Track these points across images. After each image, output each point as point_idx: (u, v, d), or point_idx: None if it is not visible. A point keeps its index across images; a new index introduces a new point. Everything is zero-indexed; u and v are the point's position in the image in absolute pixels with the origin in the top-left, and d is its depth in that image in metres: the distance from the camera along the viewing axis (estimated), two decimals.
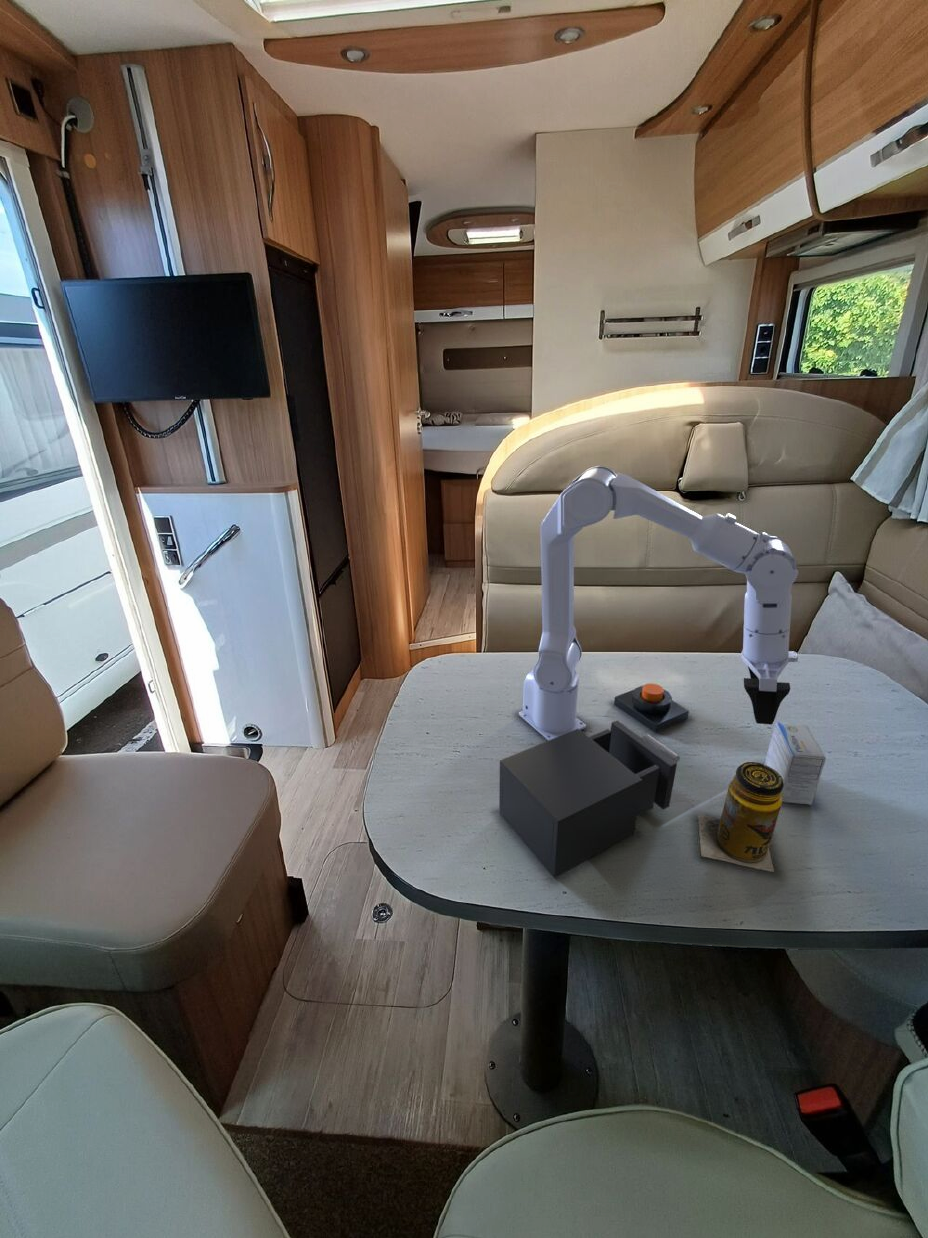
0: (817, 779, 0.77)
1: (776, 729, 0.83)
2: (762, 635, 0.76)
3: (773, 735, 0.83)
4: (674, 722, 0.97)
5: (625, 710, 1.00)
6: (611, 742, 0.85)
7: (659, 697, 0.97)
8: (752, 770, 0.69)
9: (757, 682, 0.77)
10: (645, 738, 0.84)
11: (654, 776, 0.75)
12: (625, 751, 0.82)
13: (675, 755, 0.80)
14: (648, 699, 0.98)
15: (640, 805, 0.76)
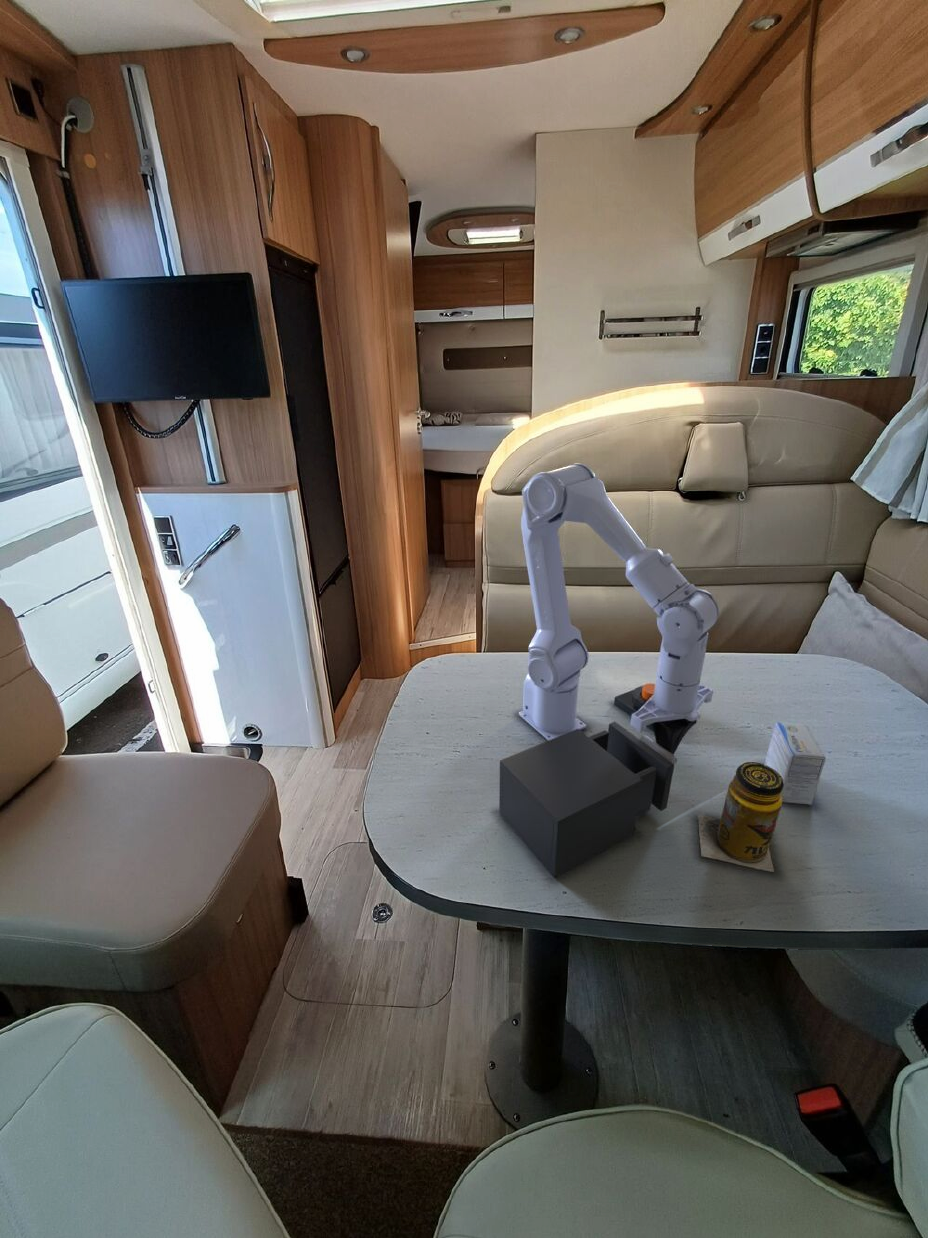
0: (817, 779, 0.77)
1: (776, 729, 0.83)
2: (660, 680, 0.77)
3: (773, 735, 0.83)
4: None
5: (625, 710, 1.00)
6: (609, 743, 0.84)
7: None
8: (752, 770, 0.69)
9: None
10: (643, 739, 0.84)
11: (652, 777, 0.74)
12: (622, 752, 0.82)
13: (673, 756, 0.80)
14: (648, 699, 0.98)
15: None
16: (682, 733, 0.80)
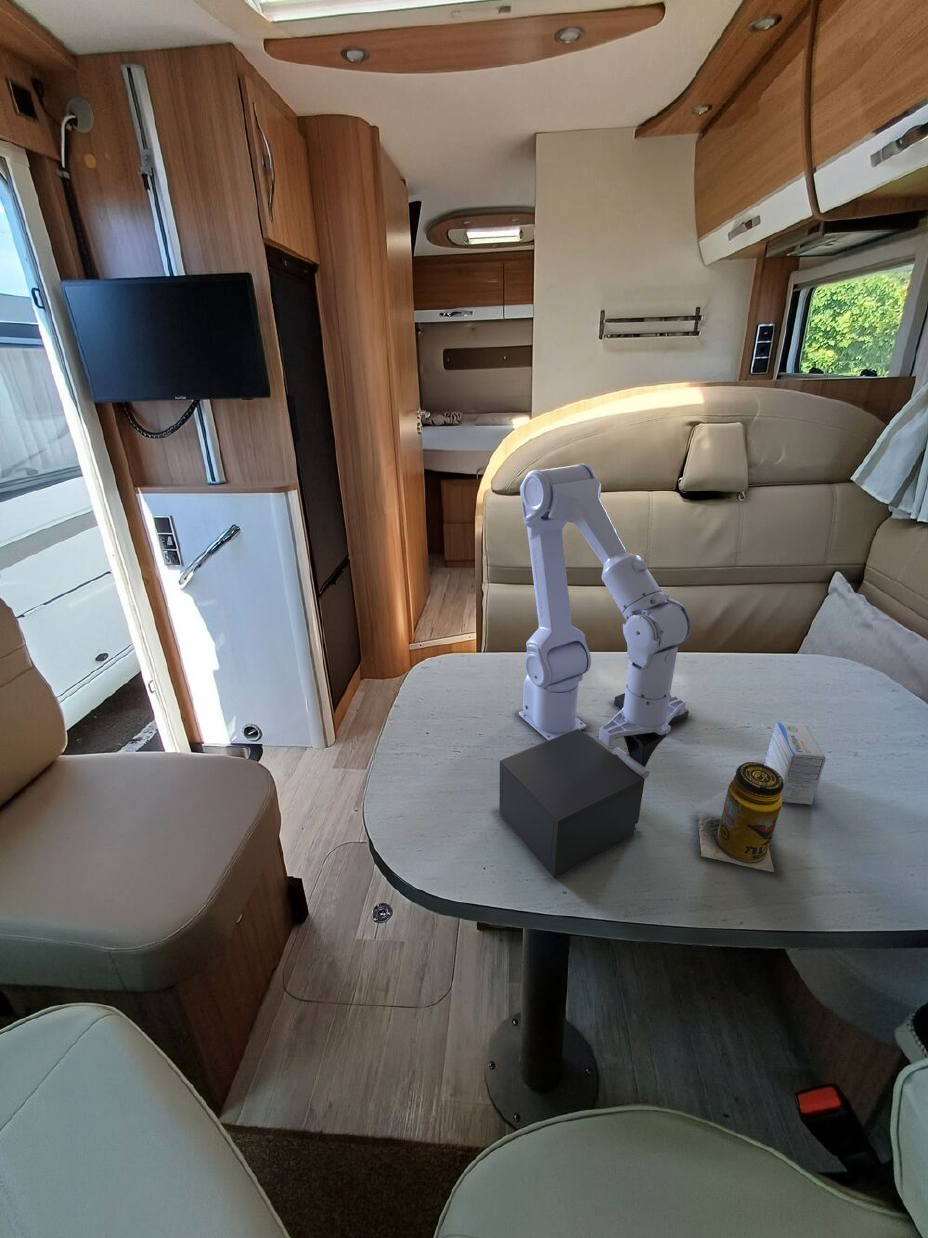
0: (817, 779, 0.77)
1: (776, 729, 0.83)
2: (629, 692, 0.74)
3: (773, 735, 0.83)
4: (674, 722, 0.97)
5: None
6: None
7: None
8: (752, 770, 0.69)
9: None
10: (615, 751, 0.81)
11: None
12: None
13: (645, 770, 0.77)
14: None
15: None
16: (652, 747, 0.77)
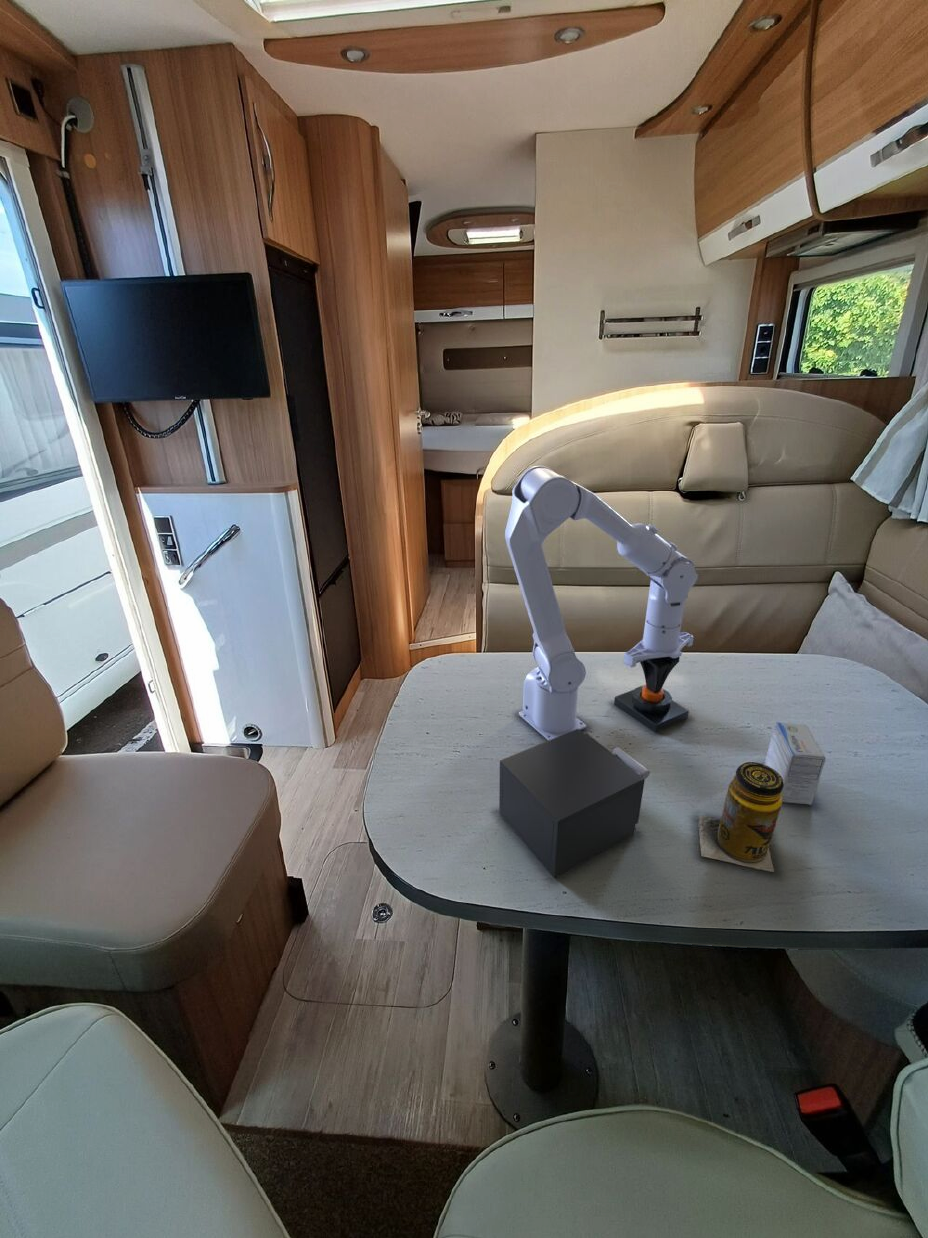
0: (817, 779, 0.77)
1: (776, 729, 0.83)
2: (648, 624, 0.92)
3: (773, 735, 0.83)
4: (674, 722, 0.97)
5: (625, 710, 1.00)
6: None
7: (659, 698, 0.97)
8: (752, 770, 0.69)
9: None
10: (615, 751, 0.81)
11: None
12: None
13: (645, 770, 0.77)
14: (648, 700, 0.98)
15: None
16: (667, 671, 0.95)
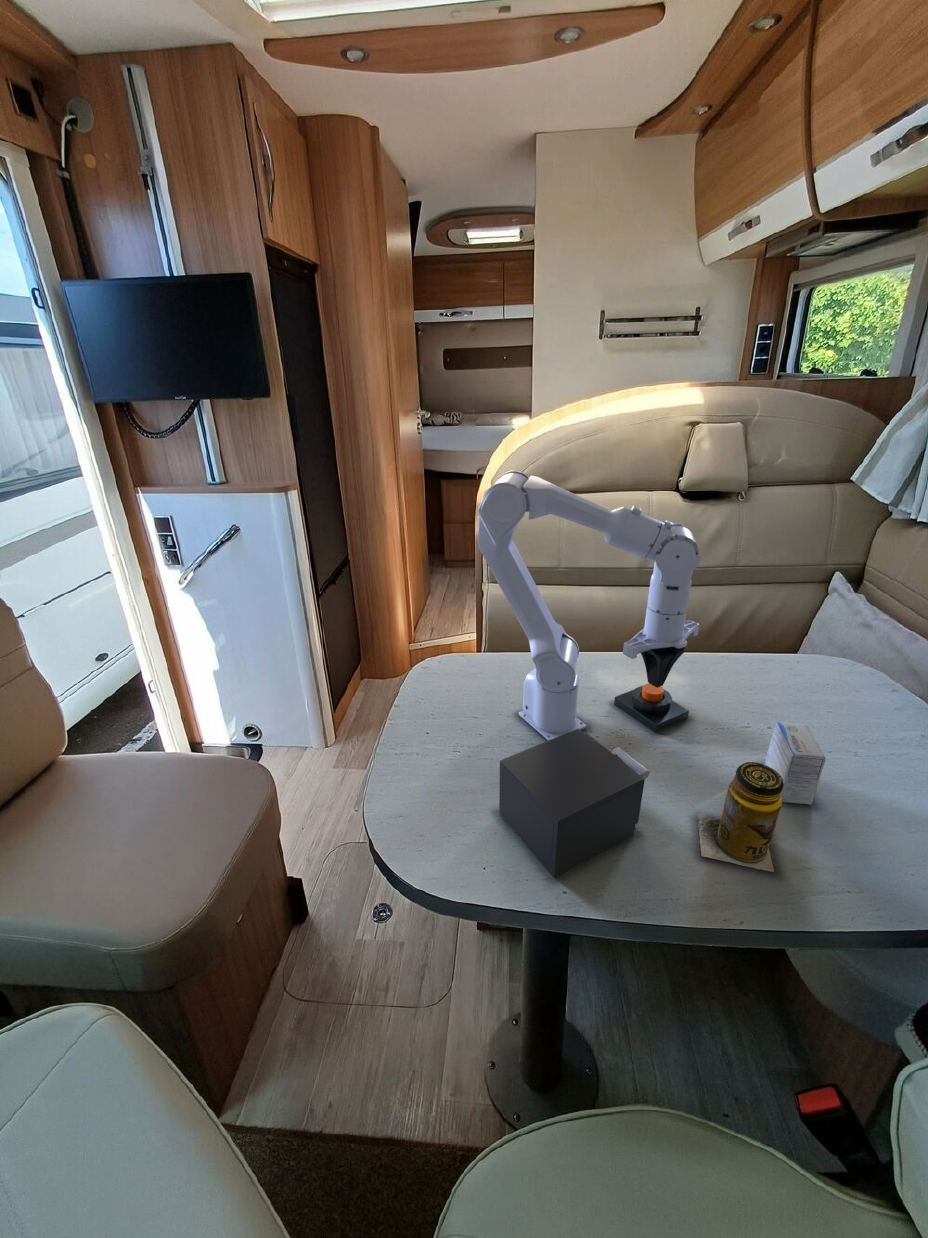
0: (817, 779, 0.77)
1: (776, 729, 0.83)
2: (650, 611, 0.83)
3: (773, 735, 0.83)
4: (674, 722, 0.97)
5: (625, 710, 1.00)
6: None
7: (659, 697, 0.97)
8: (752, 770, 0.69)
9: None
10: (615, 751, 0.81)
11: None
12: None
13: (645, 770, 0.77)
14: (648, 699, 0.98)
15: None
16: (671, 662, 0.86)
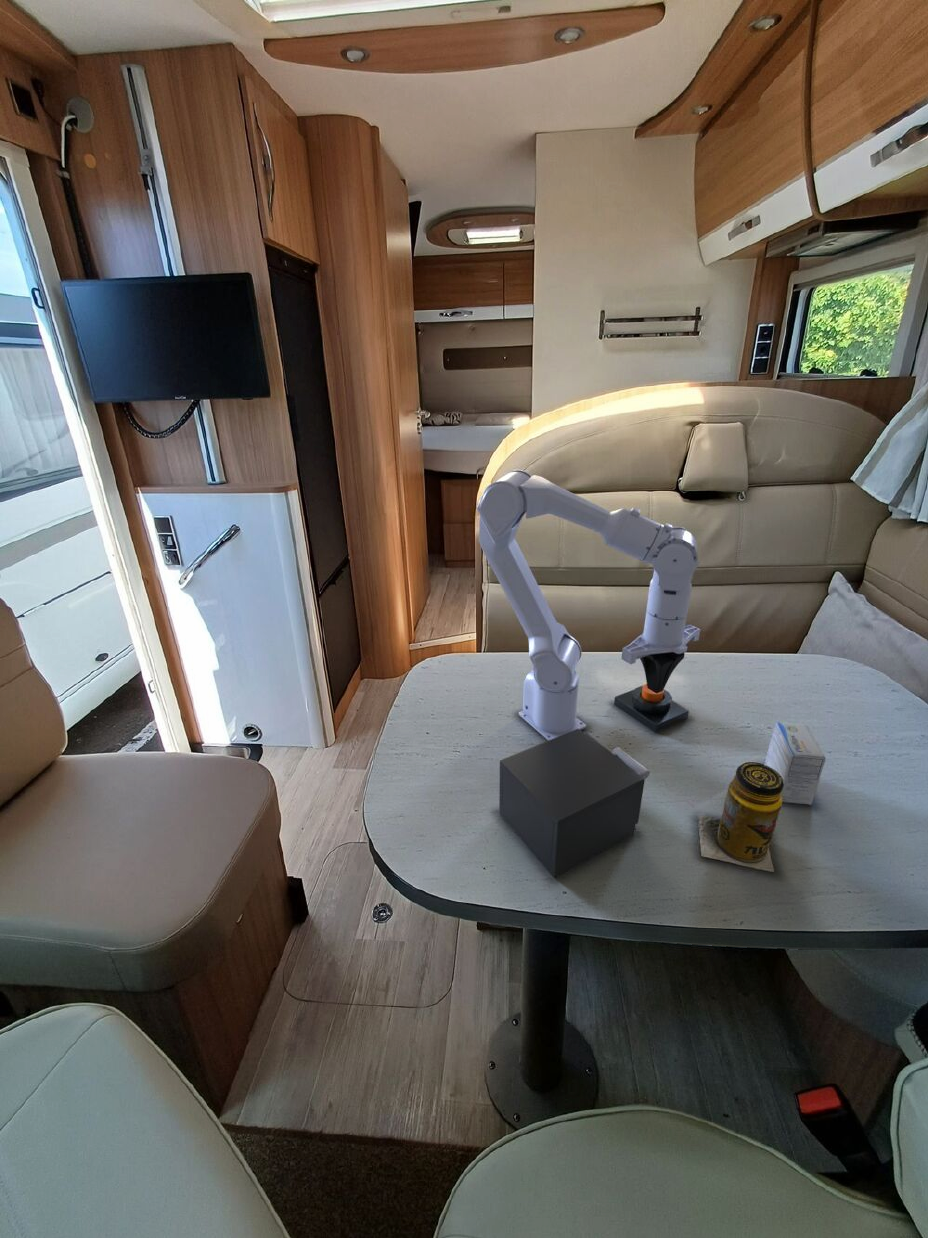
0: (817, 779, 0.77)
1: (776, 729, 0.83)
2: (649, 615, 0.82)
3: (773, 735, 0.83)
4: (674, 722, 0.97)
5: (625, 710, 1.00)
6: None
7: (659, 697, 0.97)
8: (752, 770, 0.69)
9: None
10: (615, 751, 0.81)
11: None
12: None
13: (645, 770, 0.77)
14: (648, 699, 0.98)
15: None
16: (671, 668, 0.85)
